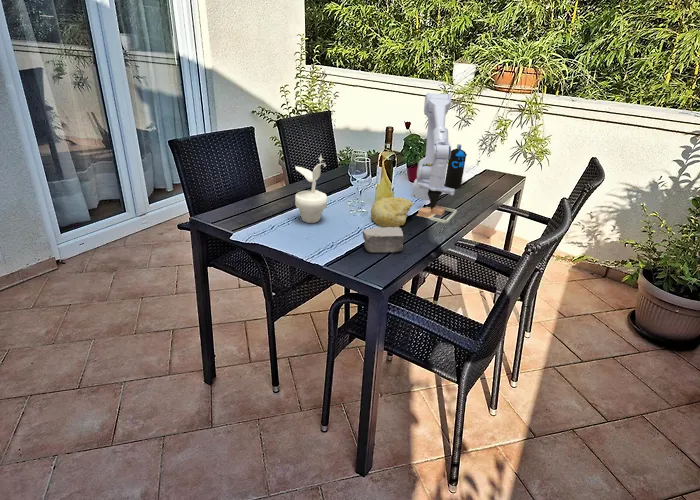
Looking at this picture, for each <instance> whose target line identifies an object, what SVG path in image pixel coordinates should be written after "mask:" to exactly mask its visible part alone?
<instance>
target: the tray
mask: <svg viewBox="0 0 700 500" xmlns="http://www.w3.org/2000/svg"><path fill="white" fill-rule="evenodd" d="M442 207H443V208H445V212H452V213H451V214H450V215H449V216H448V217H447V219H442V218H438V217H434V216H433V217H430V219H429V221H434V222H438V223H443V224H445V225H446V224H448V223H449V221H451V220H452V218H453V217H454V216H455V215H456V214H457V212H458V209H455V208H451V207H450V208H449V207H445V206H442Z"/></svg>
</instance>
